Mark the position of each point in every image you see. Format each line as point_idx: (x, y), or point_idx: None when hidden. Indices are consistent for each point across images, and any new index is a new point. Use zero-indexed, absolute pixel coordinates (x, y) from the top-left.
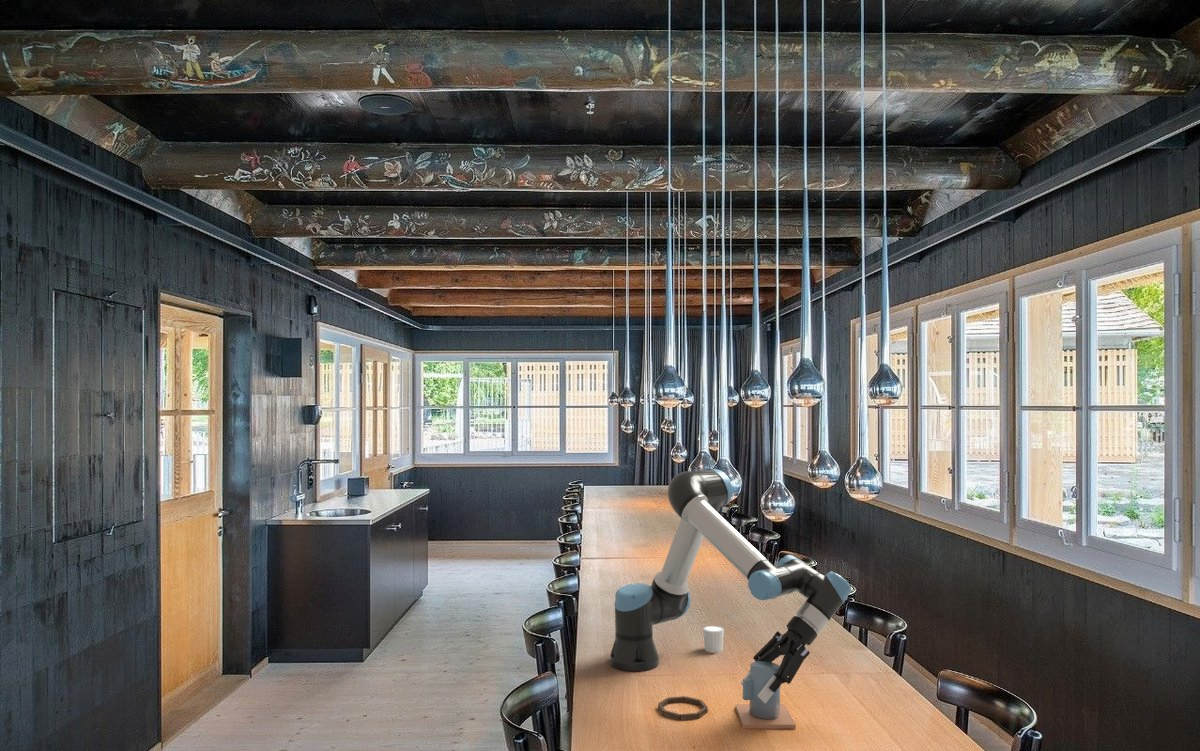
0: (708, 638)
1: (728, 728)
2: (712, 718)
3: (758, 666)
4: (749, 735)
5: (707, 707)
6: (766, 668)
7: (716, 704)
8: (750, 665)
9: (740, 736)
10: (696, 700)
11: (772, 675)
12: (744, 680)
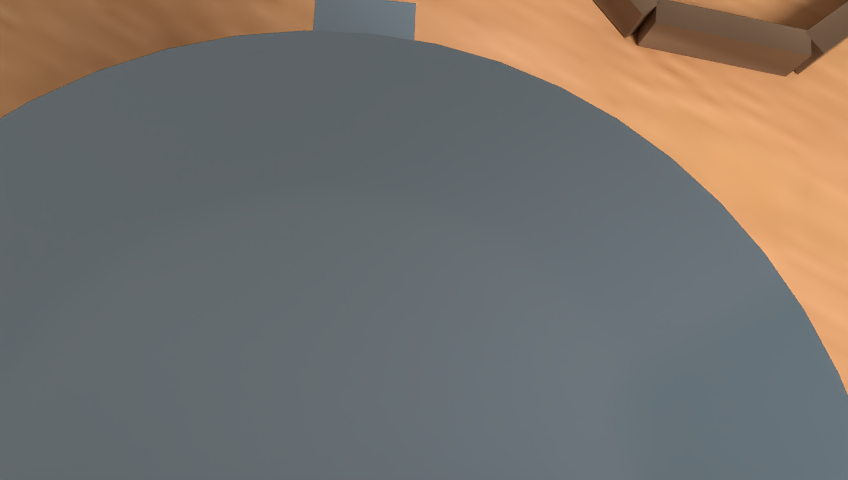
0: None
1: (244, 21)
2: (491, 11)
3: (396, 291)
4: (17, 106)
5: (652, 23)
6: (87, 477)
7: (771, 196)
8: (603, 126)
9: (41, 24)
10: (824, 18)
11: None
12: (350, 1)
